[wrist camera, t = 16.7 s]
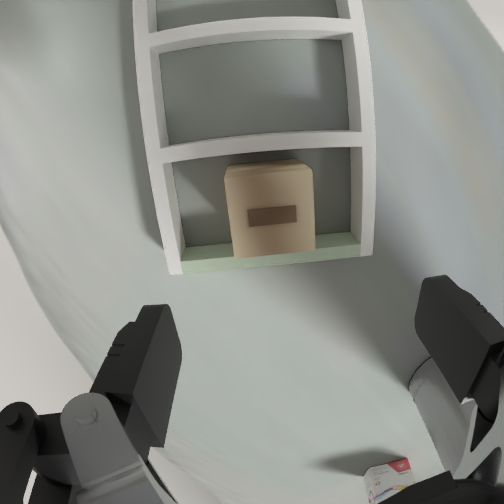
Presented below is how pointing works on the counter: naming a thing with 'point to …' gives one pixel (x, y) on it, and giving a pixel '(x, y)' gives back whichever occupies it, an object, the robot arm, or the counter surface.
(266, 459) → the counter surface
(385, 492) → the ink cartridge box
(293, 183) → the beech letter block
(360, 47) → the divider frame
